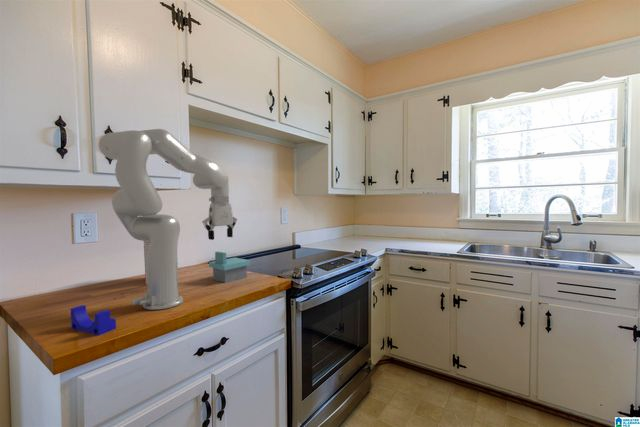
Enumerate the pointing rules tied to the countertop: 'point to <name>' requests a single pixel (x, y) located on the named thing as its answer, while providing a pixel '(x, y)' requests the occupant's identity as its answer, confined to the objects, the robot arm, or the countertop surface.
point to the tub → (229, 274)
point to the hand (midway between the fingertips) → (220, 238)
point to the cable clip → (85, 324)
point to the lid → (227, 262)
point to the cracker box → (146, 246)
